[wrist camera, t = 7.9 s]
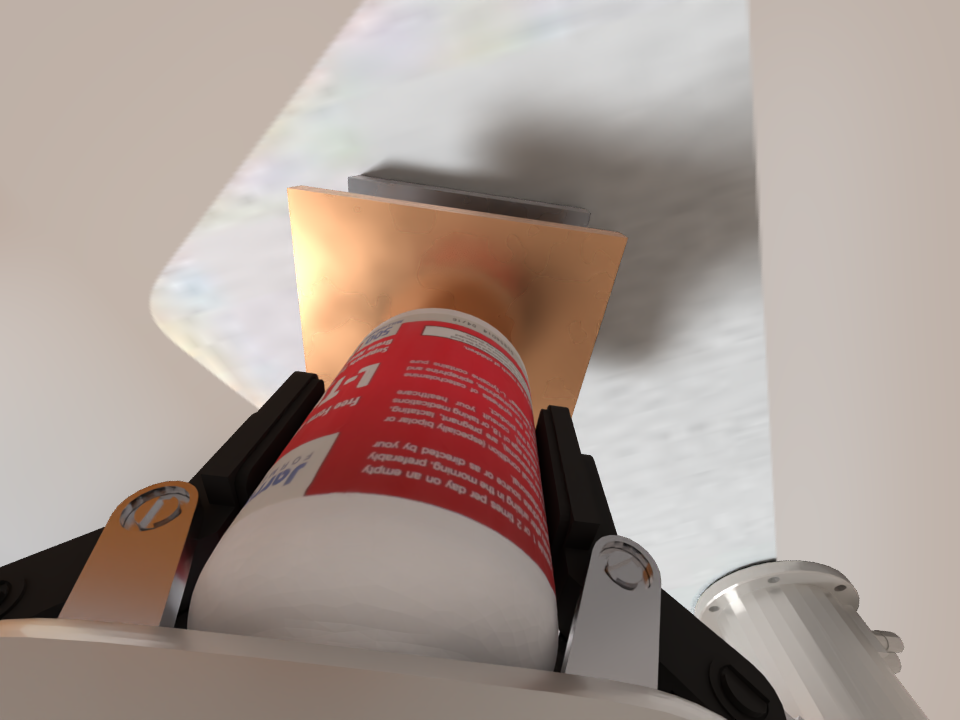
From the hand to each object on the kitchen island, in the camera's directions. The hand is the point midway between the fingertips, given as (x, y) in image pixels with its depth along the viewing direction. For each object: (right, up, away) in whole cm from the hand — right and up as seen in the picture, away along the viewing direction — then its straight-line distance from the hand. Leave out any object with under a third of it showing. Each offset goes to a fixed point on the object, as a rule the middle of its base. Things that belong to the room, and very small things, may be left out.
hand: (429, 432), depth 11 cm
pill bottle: (0, +1, +2) cm, 3 cm away
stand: (0, +6, +10) cm, 11 cm away
